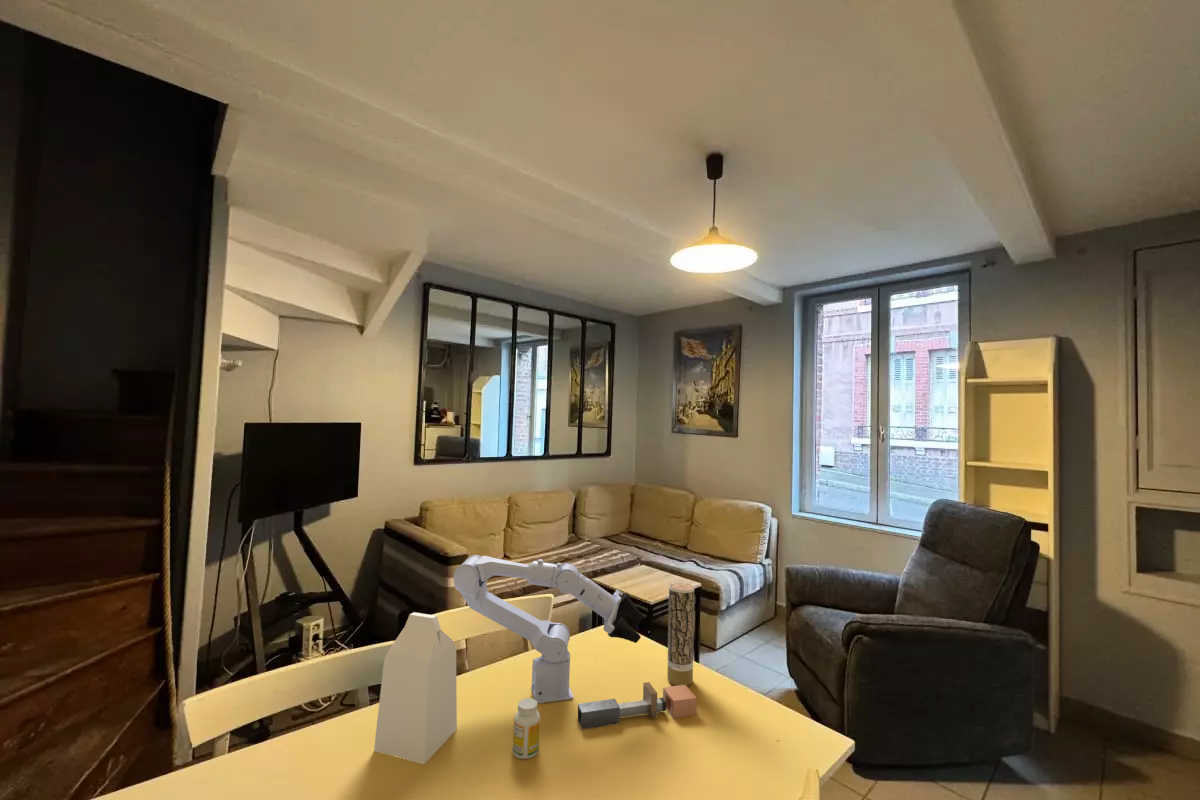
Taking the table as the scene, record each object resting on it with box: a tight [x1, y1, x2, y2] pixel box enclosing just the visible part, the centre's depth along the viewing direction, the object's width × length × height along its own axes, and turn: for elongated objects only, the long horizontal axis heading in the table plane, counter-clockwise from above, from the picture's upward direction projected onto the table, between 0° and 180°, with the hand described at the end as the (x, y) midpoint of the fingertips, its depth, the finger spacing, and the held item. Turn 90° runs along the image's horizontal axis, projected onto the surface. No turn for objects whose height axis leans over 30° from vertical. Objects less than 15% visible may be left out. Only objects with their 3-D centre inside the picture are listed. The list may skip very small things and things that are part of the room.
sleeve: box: [577, 698, 621, 730], centre depth 110 cm, size 9×4×4 cm, turn 106°
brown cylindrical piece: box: [666, 582, 695, 687], centre depth 129 cm, size 7×7×25 cm
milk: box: [373, 611, 458, 765], centre depth 102 cm, size 12×12×26 cm
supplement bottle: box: [512, 697, 541, 760], centre depth 99 cm, size 5×5×10 cm
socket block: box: [662, 685, 698, 720], centre depth 115 cm, size 6×6×4 cm
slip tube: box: [618, 681, 667, 719], centre depth 112 cm, size 19×5×6 cm, turn 106°
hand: (640, 629), depth 121 cm, fingers open, 7 cm apart
